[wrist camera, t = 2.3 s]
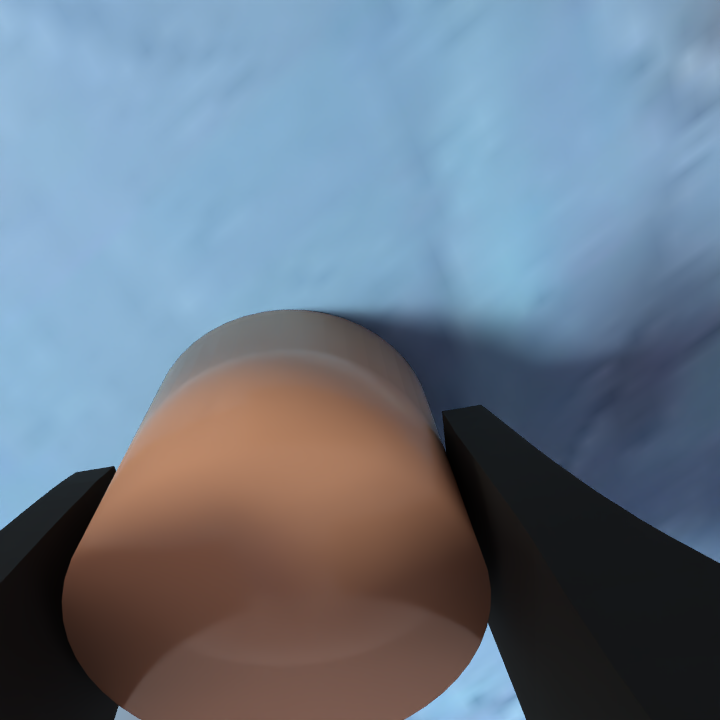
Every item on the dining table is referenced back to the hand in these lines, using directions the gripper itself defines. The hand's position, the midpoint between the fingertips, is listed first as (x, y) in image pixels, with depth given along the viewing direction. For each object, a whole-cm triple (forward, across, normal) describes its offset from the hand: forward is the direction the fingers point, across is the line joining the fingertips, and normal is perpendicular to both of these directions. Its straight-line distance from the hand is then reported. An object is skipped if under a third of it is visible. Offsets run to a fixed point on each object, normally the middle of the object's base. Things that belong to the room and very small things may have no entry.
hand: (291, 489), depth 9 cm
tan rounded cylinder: (+2, 0, 0) cm, 2 cm away
